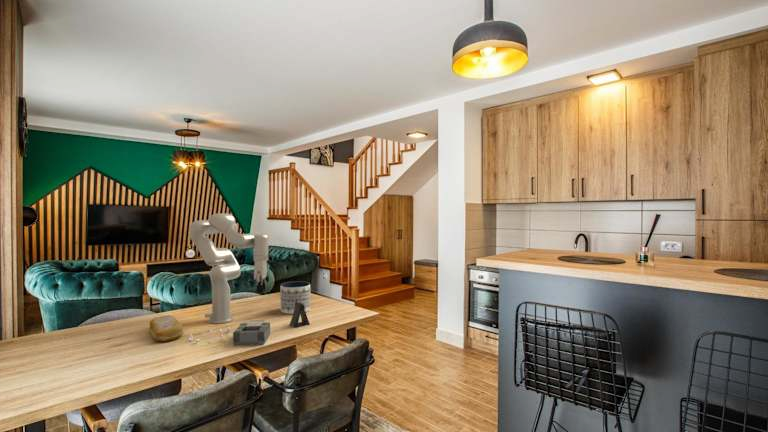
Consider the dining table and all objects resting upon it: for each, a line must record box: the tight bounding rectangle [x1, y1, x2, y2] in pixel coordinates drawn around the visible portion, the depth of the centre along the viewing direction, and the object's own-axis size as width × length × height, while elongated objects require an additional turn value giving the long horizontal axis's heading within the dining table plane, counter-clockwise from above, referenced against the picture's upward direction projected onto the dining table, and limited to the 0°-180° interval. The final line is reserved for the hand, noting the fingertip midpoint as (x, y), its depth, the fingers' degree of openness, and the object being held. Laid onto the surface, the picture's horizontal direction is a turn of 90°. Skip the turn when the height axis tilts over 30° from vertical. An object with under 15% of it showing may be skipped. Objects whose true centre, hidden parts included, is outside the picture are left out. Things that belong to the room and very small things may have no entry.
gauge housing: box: [232, 322, 271, 347], centre depth 178 cm, size 14×14×6 cm
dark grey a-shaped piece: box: [289, 302, 311, 328], centre depth 201 cm, size 9×6×12 cm, turn 126°
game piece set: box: [187, 325, 231, 345], centre depth 181 cm, size 19×20×4 cm
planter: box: [279, 280, 311, 315], centre depth 229 cm, size 18×18×16 cm
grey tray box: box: [239, 319, 271, 331], centre depth 183 cm, size 14×9×5 cm, turn 96°
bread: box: [148, 314, 184, 343], centre depth 185 cm, size 13×26×8 cm, turn 44°
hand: (261, 291), depth 196 cm, fingers open, 4 cm apart
